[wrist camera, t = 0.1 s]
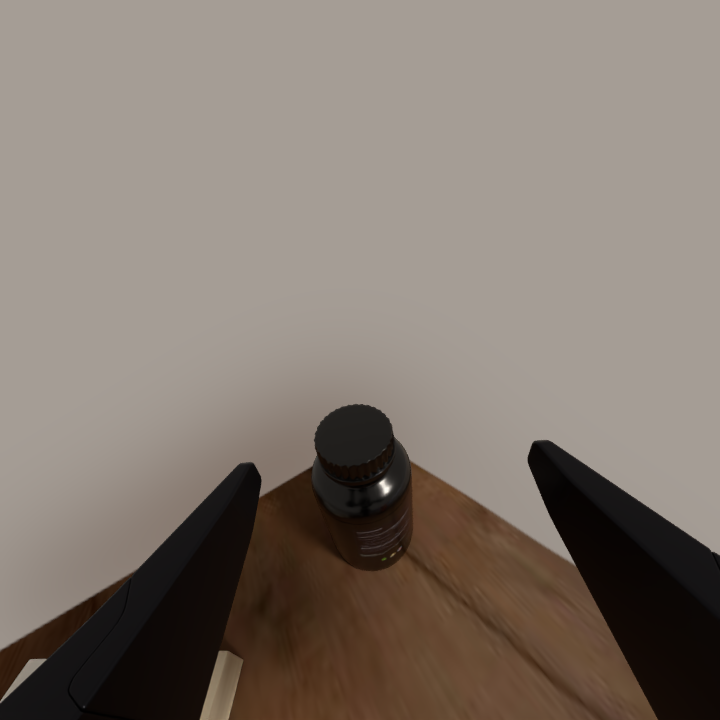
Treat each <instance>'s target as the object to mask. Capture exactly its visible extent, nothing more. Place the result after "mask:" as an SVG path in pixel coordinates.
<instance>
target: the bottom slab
mask: <svg viewBox="0 0 720 720" xmlns="http://www.w3.org/2000/svg"><path fill="white" fill-rule="evenodd" d="M242 664H243V659H241V658H239V657H238V656H236V655H234V654H232V653H231V652H229V651H219V653H218V657H217V660H216V665H215V668H214V671H213V674H212V678H211V682H210V685H209V689H208V692H207V696H206V699H205V703H204V706H203V710H202V713H201V717H200V720H228V719H229V715H230V711H231V707H232V703H233V699H234V695H235V691H236V687H237V683H238V679H239V676H240V672H241V668H242Z"/></svg>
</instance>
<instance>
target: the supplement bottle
mask: <svg viewBox="0 0 720 720" xmlns="http://www.w3.org/2000/svg"><path fill="white" fill-rule="evenodd" d="M314 442H315V449H316V452H317V456H316V459H315V461H314V464H313V468H312V476H311V480H312V487H313V491H314V495H315V497H316V500H317V502H318V505H319V507H320V510H321V512H322V514H323V517H324V519H325V522H326V524H327V527H328V529H329V531H330V534H331V536H332V539H333V541H334V543H335V545H336V547H337V549H338V551H339V553H340V554H341V555H342V557H343V558H344V559H345V560H346V561H347V562H348V563H350V564H351V565H353V566H354V567H356V568H359V569H362V570H366V571H378V570H382V569H385V568H388V567H390V566H392V565H393V564H395V563H396V562H397V561H398V560H399V559H400V558H401V557H402V556H403V555H404V553H405V552H406V550H407V548H408V546H409V544H410V541H411V537H412V531H413V507H412V476H411V465H410V460H409V457H408V454H407V452H406V450H405V449H404V447H403V446H402V444H401V443H400V442H399V441H398V440H397V439H396V438H395V437H394V435H393V430H392V424H391V423H390V420H389V418H387V417H386V415H385V414H384V413H382V412H381V411H380V410H378V409H376V408H375V407H371V406H369V405H363V404H360V405H358V404H354V405H348V406H344V407H341V408H339V409H336V410H335V411H333V412H331V413H330V414H329V415H328V416H326V417H325V418H324V420H322V421H321V422H320V425H319V426H318V427H317V431H316V433H315V439H314Z"/></svg>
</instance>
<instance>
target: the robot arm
mask: <svg viewBox="0 0 720 720" xmlns="http://www.w3.org/2000/svg"><path fill="white" fill-rule="evenodd" d="M528 464H529V467H530V469H531V472H532V474H533V477H534V479H535V481H536V484H537V486H538V489H539V491H540V494H541V496H542V499H543V501H544V504H545V506H546V508H547V510H548V513H549V515H550V517H551V519H552V521H553V523H554V525H555V527H556V529H557V531H558V532H559V534H560V536H561V538H562V540H563V542H564V544H565V546H566V547H567V549H568V551H569V553H570V555H571V557H572V559H573V561H574V563H575V564H576V566H577V568H578V570H579V572H580V574H581V576H582V578H583V580H584V581H585V583H586V585H587V587H588V589H589V591H590V593H591V595H592V596H593V598H594V600H595V602H596V604H597V606H598V608H599V610H600V611H601V613H602V615H603V617H604V619H605V621H606V623H607V625H608V627H609V628H610V630H611V632H612V634H613V636H614V638H615V640H616V642H617V643H618V645H619V647H620V649H621V651H622V653H623V655H624V657H625V659H626V660H627V662H628V664H629V666H630V668H631V670H632V672H633V674H634V675H635V677H636V679H637V681H638V683H639V685H640V687H641V689H642V690H643V692H644V694H645V696H646V698H647V700H648V702H649V704H650V706H651V707H652V709H653V711H654V713H655V715H656V717H657V719H658V720H720V555H718V554H717V553H715V552H711V550H710V549H709V548H708V547H706V546H705V545H703V544H702V543H700V542H699V541H697V540H696V539H694V538H693V537H691V536H690V535H688V534H687V533H686V532H684V531H682V530H681V529H680V528H678V527H677V526H675V525H674V524H672V523H671V522H669V521H668V520H666V519H665V518H663V517H662V516H660V515H659V514H658V513H656V512H655V511H653V510H652V509H650V508H649V507H647V506H646V505H644V504H643V503H641V502H640V501H638V500H637V499H635V498H634V497H632V496H631V495H629V494H628V493H626V492H625V491H624V490H622V489H621V488H619V487H618V486H616V485H615V484H613V483H612V482H610V481H609V480H607V479H606V478H604V477H603V476H601V475H600V474H598V473H597V472H595V471H594V470H593V469H591V468H590V467H588V466H587V465H585V464H584V463H582V462H581V461H579V460H578V459H576V458H575V457H573V456H572V455H570V454H569V453H567V452H566V451H564V450H563V449H561V448H560V447H558V446H557V445H556V444H554V443H553V442H551V441H549V440H538V441H534V442H533V443H532V446H531V449H530V452H529V455H528ZM260 488H261V476H260V474H259V472H258V470H257V468H256V467H255V465H254V463H252V462H247V463H241V464H239V465H238V466H237V467H236V468H235V469H234V470H233V471H232V472H231V473H230V474H229V475H228V476H227V477H226V478H225V479H224V480H223V481H222V482H221V483H220V484H219V485H218V486H217V487H216V489H215V490H214V491H213V492H212V493H211V494H210V495H209V496H208V497H207V498H206V499H205V500H204V501H203V502H202V503H201V504H200V505H199V506H198V507H197V508H196V509H195V510H194V511H193V513H191V514H190V516H189V517H188V518H187V519H186V520H185V521H184V522H183V523H182V524H181V525H180V526H179V527H178V528H177V529H176V530H175V531H174V532H173V533H172V534H171V536H169V537H168V538H167V539H166V541H164V543H163V544H162V545H161V546H160V547H159V548H158V549H157V550H156V551H155V552H154V553H153V554H152V555H151V556H150V557H149V558H148V559H147V560H146V561H145V562H144V563H143V564H142V565H141V566H140V567H139V568H138V570H137V571H136V572H135V573H134V574H133V575H132V578H129V579H128V580H127V581H126V582H125V583H124V584H123V585H122V586H121V587H120V588H119V589H118V590H117V591H116V592H115V593H114V594H113V595H112V596H111V597H110V598H109V599H108V600H107V601H106V602H105V603H104V604H103V605H102V606H101V607H100V608H99V609H98V610H97V612H96V613H95V614H94V615H93V616H92V617H91V618H90V619H88V620H87V621H86V622H85V623H84V624H83V625H82V626H81V627H80V628H79V629H78V630H77V631H76V632H75V633H74V634H73V635H72V636H71V637H70V638H69V639H68V640H67V641H66V642H65V643H64V644H62V645H61V646H60V647H59V648H58V649H57V650H56V651H55V652H54V653H53V654H52V655H51V656H50V657H49V658H48V659H47V660H45V661H44V662H43V663H42V664H41V665H40V666H39V667H38V668H37V669H36V670H35V671H34V672H33V673H32V674H31V675H30V676H28V677H27V678H26V679H25V680H24V681H23V682H22V683H21V684H20V685H19V686H18V687H17V688H16V689H15V690H14V691H13V692H11V693H10V694H9V695H8V696H7V697H6V698H5V699H4V700H3V701H2V702H1V703H0V720H200V717H201V713H202V710H203V706H204V703H205V699H206V696H207V692H208V689H209V685H210V682H211V678H212V674H213V671H214V667H215V664H216V660H217V657H218V653H219V650H220V646H221V642H222V639H223V635H224V632H225V628H226V625H227V621H228V618H229V614H230V610H231V607H232V603H233V600H234V596H235V593H236V589H237V586H238V582H239V578H240V575H241V571H242V568H243V564H244V561H245V557H246V554H247V550H248V546H249V543H250V539H251V535H252V532H253V527H254V522H255V516H256V510H257V505H258V499H259V494H260Z"/></svg>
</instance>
